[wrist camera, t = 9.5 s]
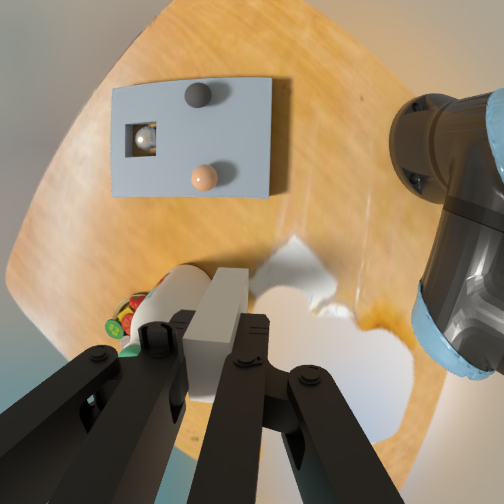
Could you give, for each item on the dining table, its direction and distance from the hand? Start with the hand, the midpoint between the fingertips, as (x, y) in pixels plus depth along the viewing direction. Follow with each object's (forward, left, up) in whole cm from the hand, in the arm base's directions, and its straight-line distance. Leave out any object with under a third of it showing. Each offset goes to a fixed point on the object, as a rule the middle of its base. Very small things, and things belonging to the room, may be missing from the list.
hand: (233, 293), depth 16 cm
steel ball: (+15, -9, -25) cm, 30 cm away
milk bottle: (+10, +12, -27) cm, 31 cm away
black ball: (+7, -14, -22) cm, 27 cm away
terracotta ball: (+6, -4, -22) cm, 24 cm away
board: (+9, -9, -26) cm, 29 cm away
